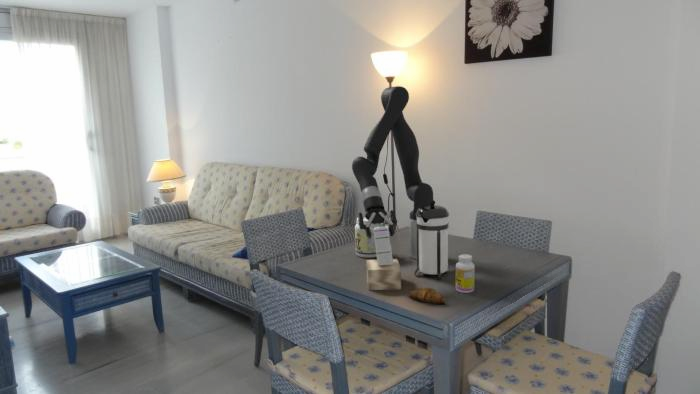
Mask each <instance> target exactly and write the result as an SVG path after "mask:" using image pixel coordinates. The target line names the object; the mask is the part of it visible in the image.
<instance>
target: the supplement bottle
mask: <svg viewBox="0 0 700 394" xmlns="http://www.w3.org/2000/svg"><path fill="white" fill-rule="evenodd" d="M472 261H473V256H472V255H471V254H467V253H465V254H463V253H462V254H460V255H458V262H456V264H455V290H456V291H457V292H459V293H461V294H468V293H473V292H474V291H475V270H476V268H475V267H476V266H475V263H473V262H472Z"/></svg>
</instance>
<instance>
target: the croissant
mask: <svg viewBox="0 0 700 394" xmlns="http://www.w3.org/2000/svg"><path fill="white" fill-rule="evenodd" d="M408 295H409V296H408V297H409V298H411V299H413V300H415V301H419V302H422V303H428V304H429V303H430V304H434V305H444V304H446V298H445V297H444V296H442V295H441V294H440V293H438V292H437V291H436V290H435V289H434V288H432V287H427V286H426V287H422V288H420V289H415V290H412V291H409V293H408Z"/></svg>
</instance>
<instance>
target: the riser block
mask: <svg viewBox="0 0 700 394" xmlns="http://www.w3.org/2000/svg"><path fill="white" fill-rule="evenodd" d="M365 261H366V280H367V281H366V282H367V288H368V291H377V290H378V291H379V290H380V291H382V290H401V289H402V268H401V265H400V263H399V260H398V258H393V264H392V265H384V266H378V263H377V259H366V260H365Z"/></svg>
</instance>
